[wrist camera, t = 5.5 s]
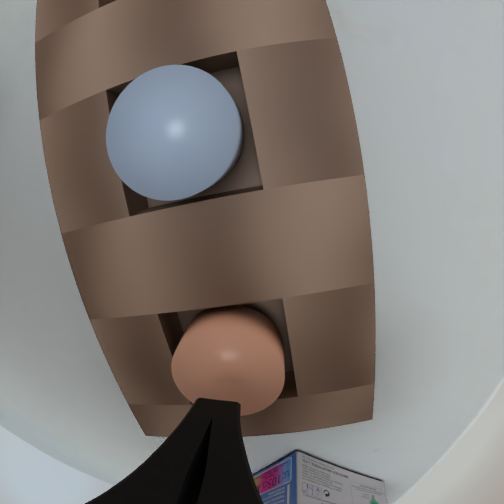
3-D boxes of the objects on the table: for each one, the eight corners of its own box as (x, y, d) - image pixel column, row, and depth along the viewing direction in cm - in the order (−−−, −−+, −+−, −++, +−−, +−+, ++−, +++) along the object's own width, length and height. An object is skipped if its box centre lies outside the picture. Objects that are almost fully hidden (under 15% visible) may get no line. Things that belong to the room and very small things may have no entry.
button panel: (158, 405, 17) (145, 435, 15) (67, -41, 10) (44, -57, 7) (362, 387, 16) (372, 419, 13) (270, -104, 8) (268, -131, 6)
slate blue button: (142, 203, 12) (120, 213, 10) (122, 97, 11) (97, 89, 9) (254, 180, 11) (250, 185, 10) (232, 66, 10) (223, 49, 8)
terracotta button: (198, 389, 14) (189, 417, 12) (171, 310, 13) (156, 334, 11) (289, 381, 14) (291, 411, 12) (275, 297, 13) (275, 322, 11)
